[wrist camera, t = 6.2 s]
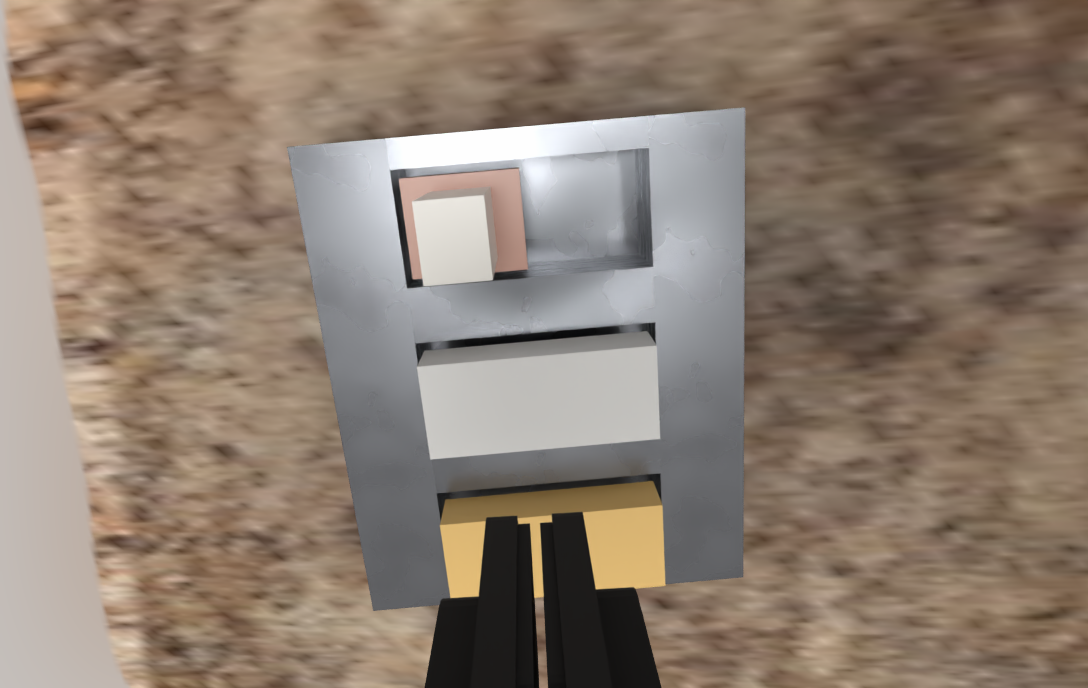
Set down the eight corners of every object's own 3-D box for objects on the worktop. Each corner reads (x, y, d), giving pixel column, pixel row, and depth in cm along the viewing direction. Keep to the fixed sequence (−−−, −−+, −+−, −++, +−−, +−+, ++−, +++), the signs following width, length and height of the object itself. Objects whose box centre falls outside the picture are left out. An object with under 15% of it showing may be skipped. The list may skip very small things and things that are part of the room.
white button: (647, 331, 24) (656, 345, 22) (650, 418, 25) (660, 439, 23) (424, 350, 24) (416, 366, 22) (436, 437, 25) (430, 459, 23)
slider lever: (518, 167, 23) (518, 173, 18) (527, 264, 24) (529, 294, 19) (403, 177, 23) (372, 185, 18) (417, 274, 24) (391, 306, 19)
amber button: (652, 480, 26) (662, 505, 24) (656, 557, 27) (665, 585, 25) (445, 499, 26) (439, 525, 24) (456, 575, 27) (451, 605, 25)
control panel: (711, 113, 26) (745, 107, 22) (715, 523, 31) (743, 576, 27) (322, 146, 26) (287, 146, 22) (392, 552, 31) (373, 610, 27)
